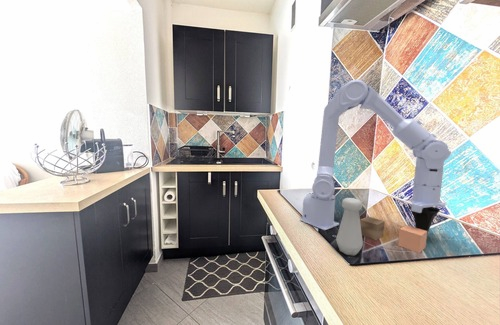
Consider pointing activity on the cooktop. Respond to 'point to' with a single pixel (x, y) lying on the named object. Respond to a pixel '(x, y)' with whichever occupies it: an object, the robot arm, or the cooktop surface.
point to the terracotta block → (412, 238)
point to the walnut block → (372, 228)
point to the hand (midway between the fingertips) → (422, 232)
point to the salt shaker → (350, 228)
